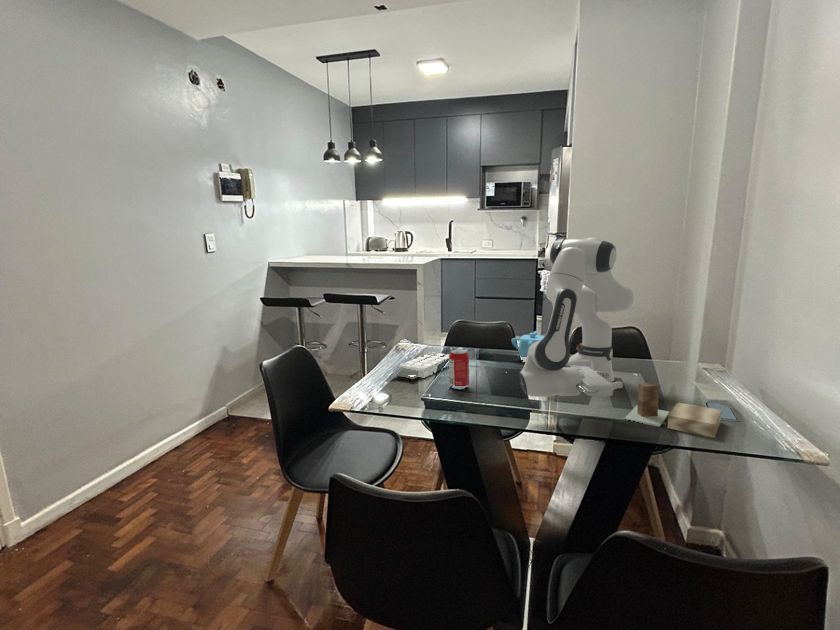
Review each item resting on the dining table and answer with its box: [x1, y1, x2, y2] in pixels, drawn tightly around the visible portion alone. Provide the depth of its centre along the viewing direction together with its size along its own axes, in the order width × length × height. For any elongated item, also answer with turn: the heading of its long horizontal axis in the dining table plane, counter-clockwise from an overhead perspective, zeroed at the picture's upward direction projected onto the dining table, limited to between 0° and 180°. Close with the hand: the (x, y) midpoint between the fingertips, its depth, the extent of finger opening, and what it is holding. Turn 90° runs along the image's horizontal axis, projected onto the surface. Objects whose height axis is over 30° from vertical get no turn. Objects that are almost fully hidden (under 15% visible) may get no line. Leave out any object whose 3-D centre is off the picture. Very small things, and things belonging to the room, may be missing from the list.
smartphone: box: [703, 401, 740, 423], centre depth 147 cm, size 7×1×15 cm
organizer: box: [399, 352, 450, 377], centre depth 204 cm, size 13×5×35 cm
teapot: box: [511, 330, 545, 357], centre depth 219 cm, size 18×16×14 cm
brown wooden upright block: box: [637, 382, 660, 417], centre depth 145 cm, size 5×3×10 cm, turn 91°
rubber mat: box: [624, 404, 670, 428], centre depth 145 cm, size 10×14×1 cm
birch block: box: [666, 401, 722, 439], centre depth 137 cm, size 12×14×4 cm
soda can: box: [448, 348, 470, 386], centre depth 178 cm, size 8×8×15 cm
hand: (614, 379), depth 144 cm, fingers open, 8 cm apart
